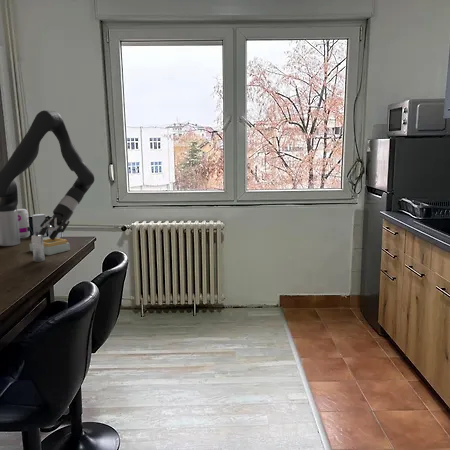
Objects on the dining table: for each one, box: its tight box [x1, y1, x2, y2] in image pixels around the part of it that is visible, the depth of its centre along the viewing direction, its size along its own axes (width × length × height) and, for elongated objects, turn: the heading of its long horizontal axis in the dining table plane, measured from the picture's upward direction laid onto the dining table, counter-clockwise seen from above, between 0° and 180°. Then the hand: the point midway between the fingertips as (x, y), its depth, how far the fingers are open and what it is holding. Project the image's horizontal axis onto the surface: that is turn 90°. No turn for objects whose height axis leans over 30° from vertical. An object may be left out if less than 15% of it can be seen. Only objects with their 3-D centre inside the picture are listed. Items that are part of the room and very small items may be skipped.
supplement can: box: [17, 208, 31, 239], centre depth 227 cm, size 8×8×15 cm
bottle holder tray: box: [28, 236, 71, 256], centre depth 198 cm, size 15×11×5 cm
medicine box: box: [47, 224, 62, 239], centre depth 223 cm, size 8×4×9 cm, turn 4°
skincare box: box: [31, 213, 48, 238], centre depth 228 cm, size 6×4×12 cm
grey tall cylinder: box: [30, 232, 46, 263], centre depth 180 cm, size 4×4×12 cm
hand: (45, 237), depth 182 cm, fingers open, 8 cm apart
